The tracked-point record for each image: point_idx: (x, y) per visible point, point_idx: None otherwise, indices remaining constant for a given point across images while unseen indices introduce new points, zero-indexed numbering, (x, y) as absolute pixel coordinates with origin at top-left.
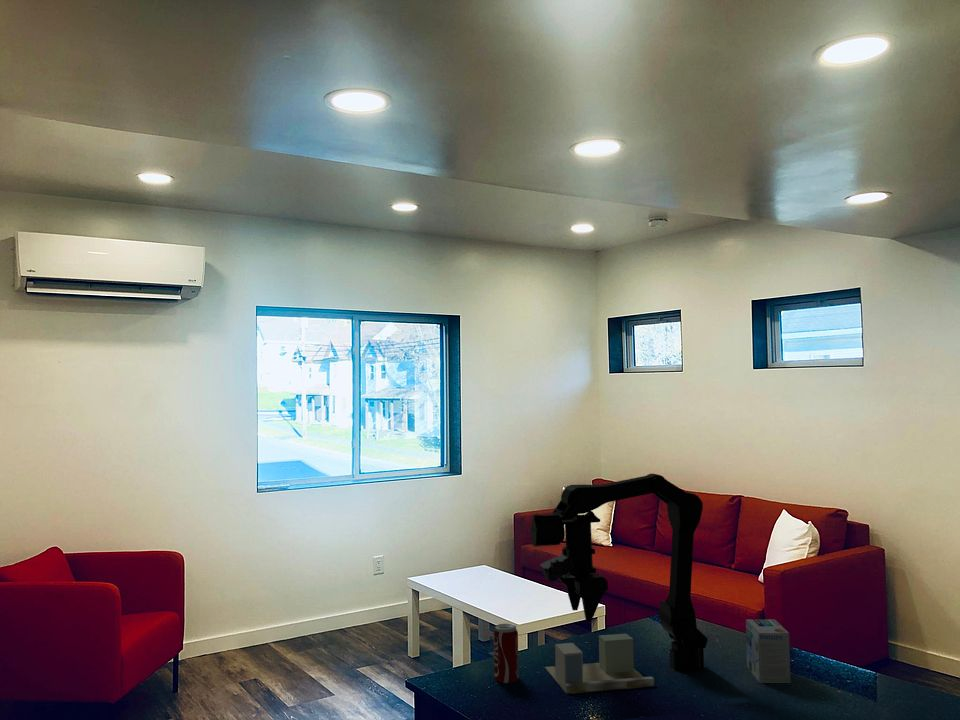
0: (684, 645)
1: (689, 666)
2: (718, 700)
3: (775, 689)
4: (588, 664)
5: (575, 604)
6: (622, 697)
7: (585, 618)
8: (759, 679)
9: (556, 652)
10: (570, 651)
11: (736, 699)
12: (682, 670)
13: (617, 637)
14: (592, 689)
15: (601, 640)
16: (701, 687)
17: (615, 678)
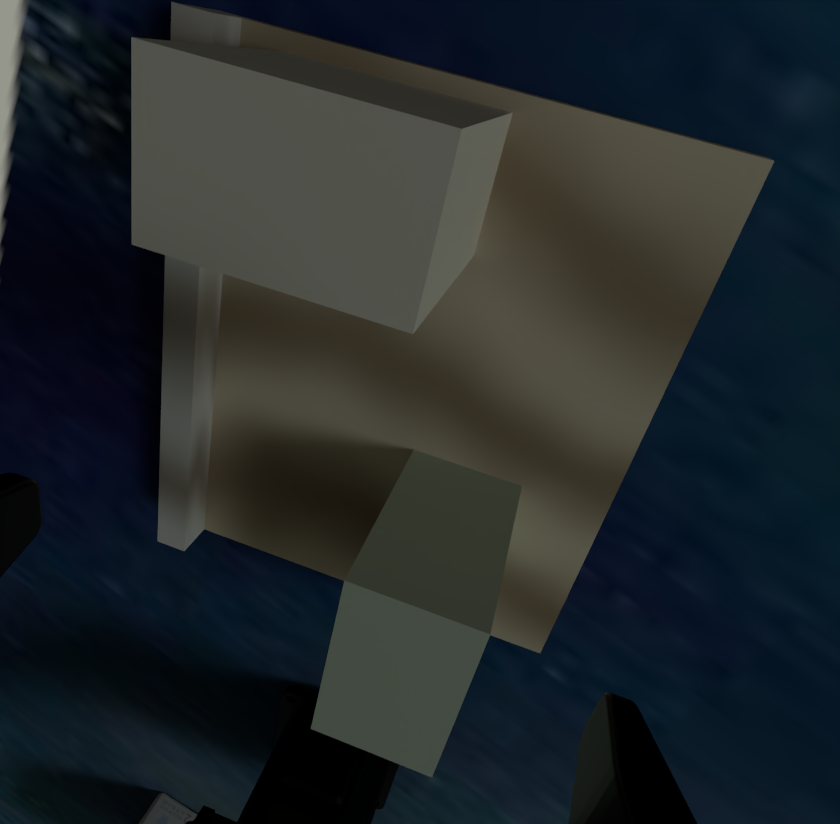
0: (194, 821)
1: (275, 748)
2: (56, 609)
3: (108, 780)
4: (605, 468)
5: (586, 800)
6: (157, 335)
7: (3, 492)
8: (153, 804)
9: (435, 112)
10: (183, 149)
11: (55, 653)
12: (303, 720)
13: (377, 687)
14: None
15: (434, 595)
16: (177, 657)
17: (324, 442)
